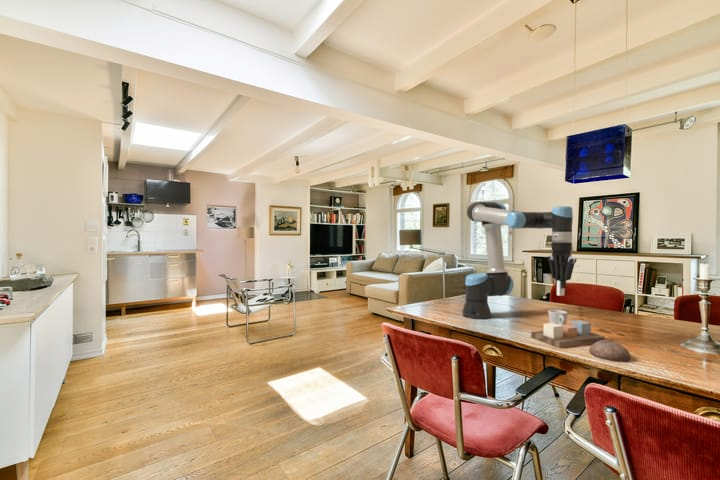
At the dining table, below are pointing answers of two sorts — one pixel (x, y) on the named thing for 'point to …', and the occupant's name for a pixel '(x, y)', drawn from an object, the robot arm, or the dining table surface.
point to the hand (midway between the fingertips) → (560, 295)
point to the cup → (557, 317)
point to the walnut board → (568, 339)
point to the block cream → (553, 330)
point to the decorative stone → (610, 351)
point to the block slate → (582, 327)
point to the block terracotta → (569, 330)
